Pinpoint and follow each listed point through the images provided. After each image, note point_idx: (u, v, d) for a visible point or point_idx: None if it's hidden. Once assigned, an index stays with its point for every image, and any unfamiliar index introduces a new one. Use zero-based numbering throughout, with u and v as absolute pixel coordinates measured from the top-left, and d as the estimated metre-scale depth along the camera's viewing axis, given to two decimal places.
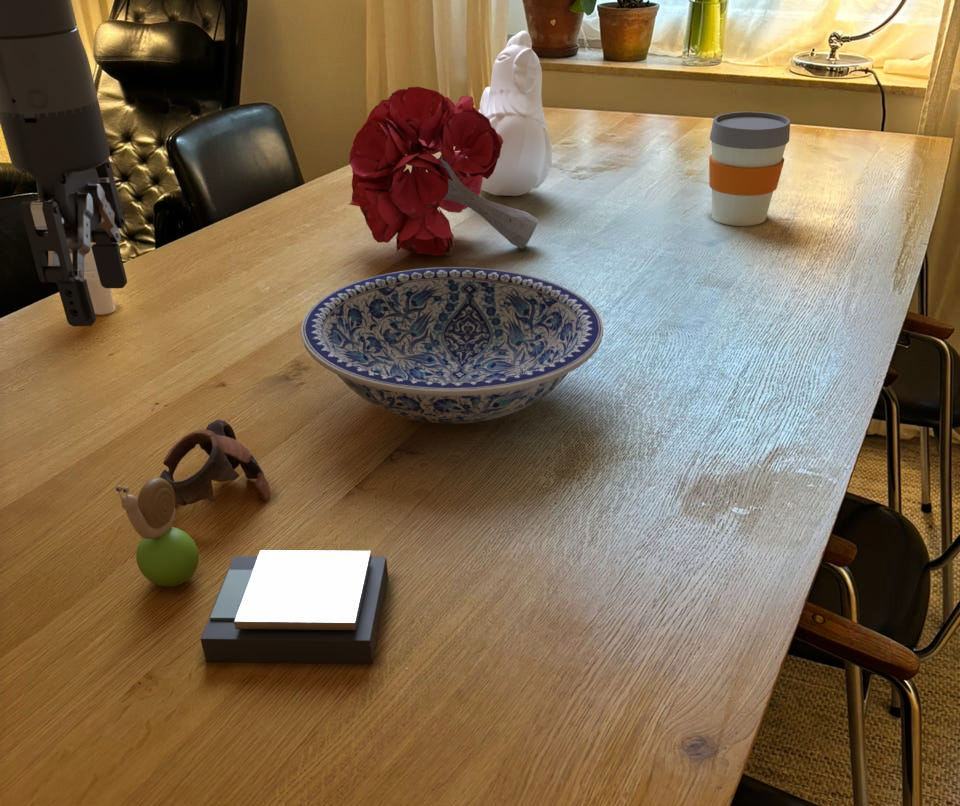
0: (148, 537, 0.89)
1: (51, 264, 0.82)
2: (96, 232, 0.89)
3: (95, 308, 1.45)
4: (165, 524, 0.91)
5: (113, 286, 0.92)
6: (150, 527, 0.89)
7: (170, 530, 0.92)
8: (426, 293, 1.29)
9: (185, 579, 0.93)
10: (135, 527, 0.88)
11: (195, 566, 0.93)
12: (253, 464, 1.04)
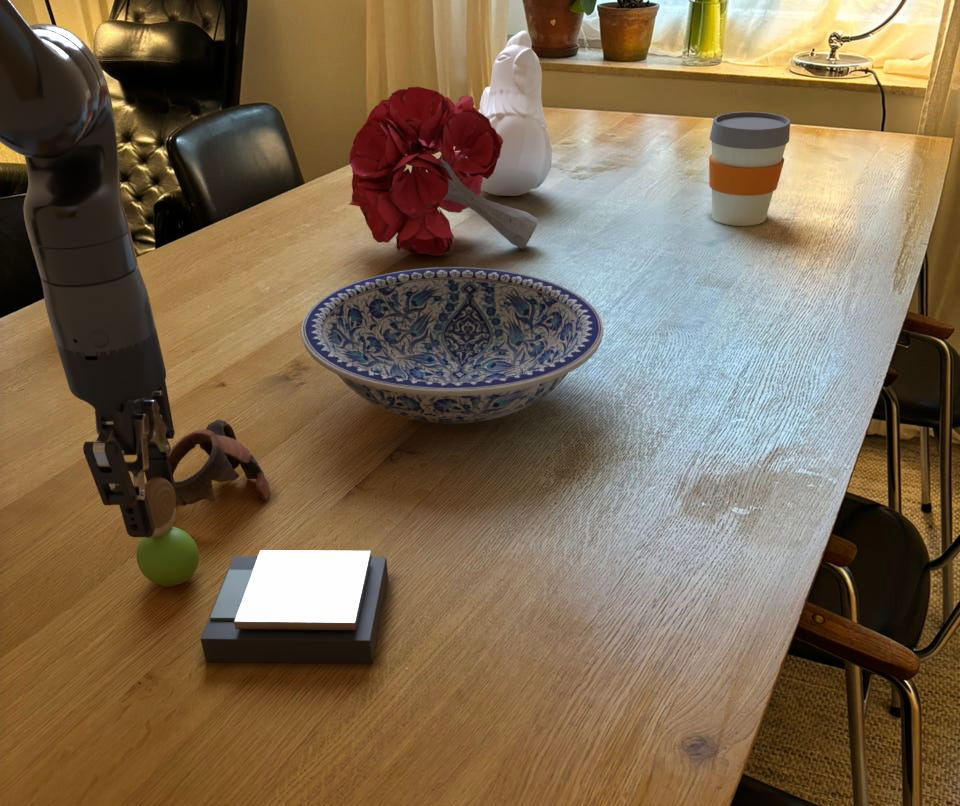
0: None
1: (113, 485, 0.83)
2: None
3: None
4: (166, 523, 0.91)
5: None
6: None
7: (171, 529, 0.92)
8: (426, 293, 1.29)
9: (185, 579, 0.93)
10: None
11: (195, 566, 0.93)
12: (253, 464, 1.04)
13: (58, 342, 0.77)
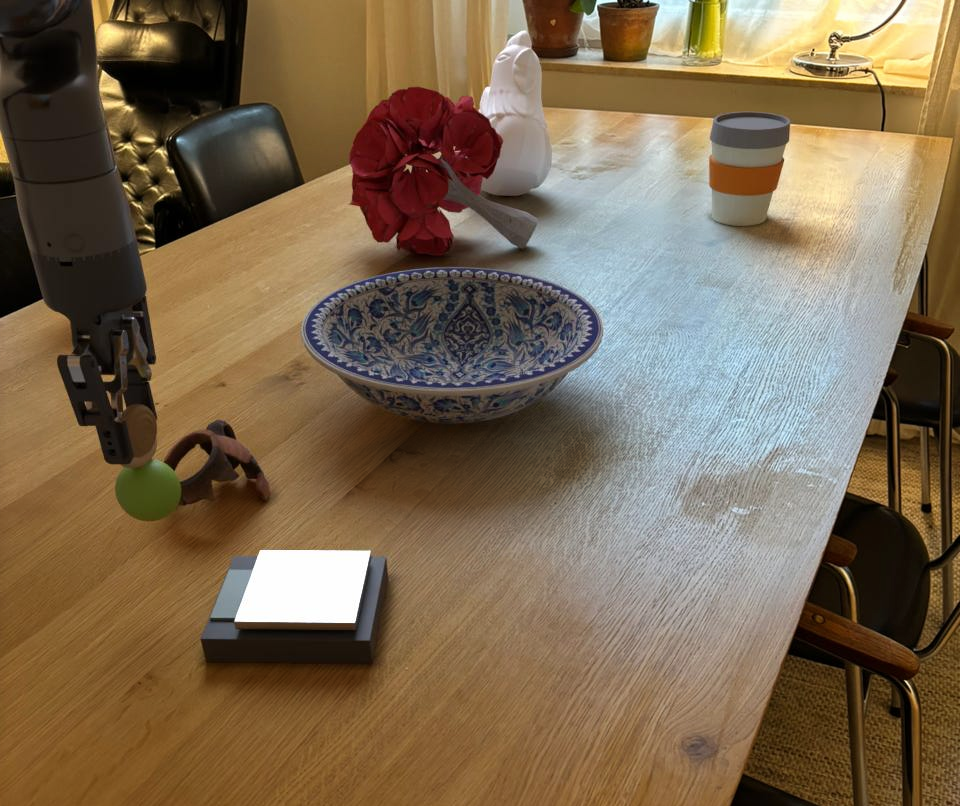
0: (127, 465, 0.85)
1: (90, 406, 0.79)
2: (126, 370, 0.85)
3: None
4: (146, 454, 0.86)
5: None
6: None
7: (151, 461, 0.87)
8: (426, 293, 1.29)
9: (166, 513, 0.88)
10: None
11: (177, 500, 0.89)
12: (253, 464, 1.04)
13: (31, 247, 0.73)
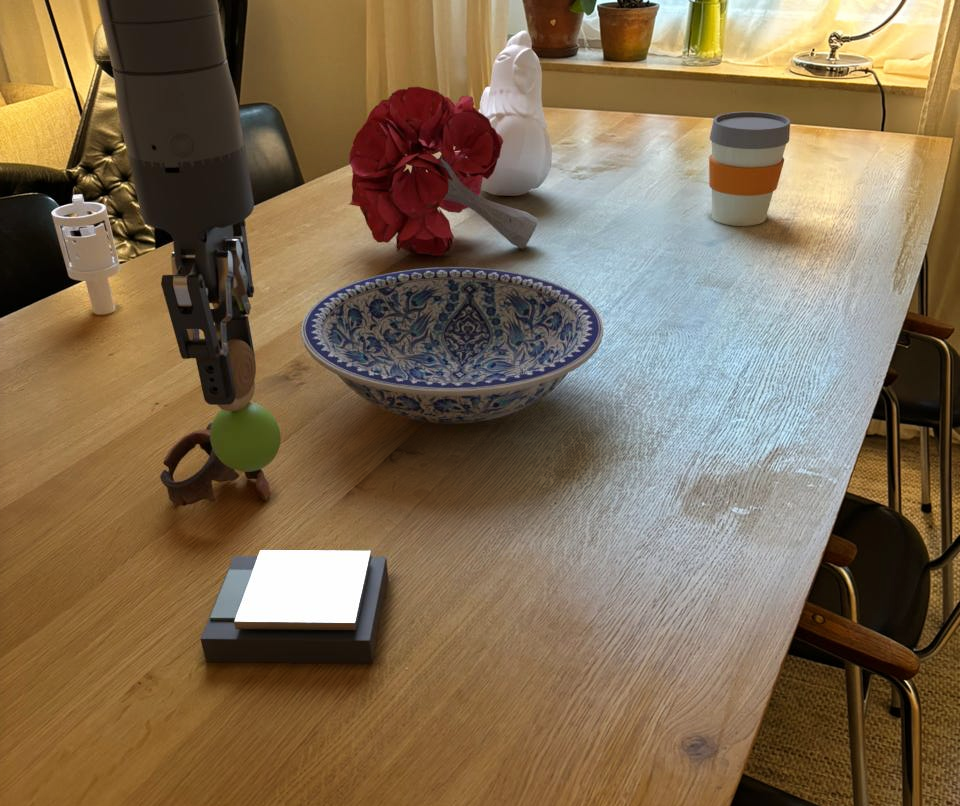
0: (227, 407, 0.77)
1: (191, 337, 0.71)
2: None
3: (95, 308, 1.45)
4: (245, 395, 0.78)
5: None
6: None
7: (250, 404, 0.79)
8: (426, 293, 1.29)
9: (266, 462, 0.80)
10: None
11: (277, 447, 0.81)
12: None
13: (132, 153, 0.65)
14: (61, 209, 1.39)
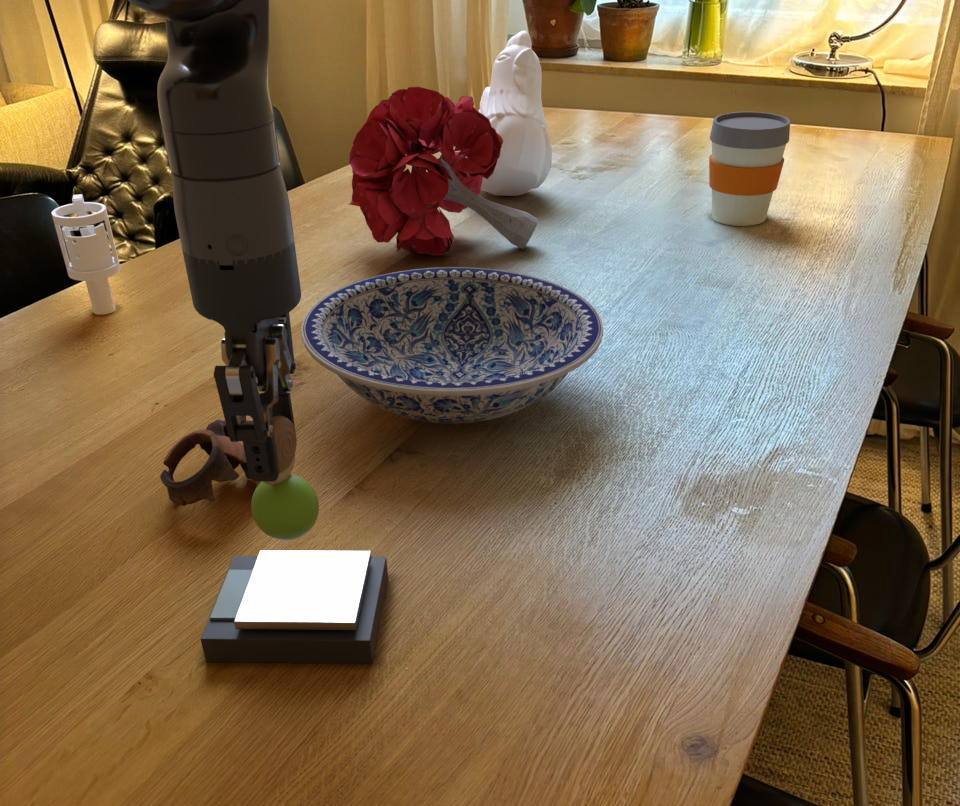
0: (269, 482, 0.79)
1: (239, 419, 0.74)
2: None
3: (95, 308, 1.45)
4: (286, 468, 0.81)
5: None
6: None
7: (290, 476, 0.82)
8: (426, 293, 1.29)
9: (305, 532, 0.83)
10: None
11: (316, 517, 0.83)
12: None
13: (188, 250, 0.68)
14: (61, 209, 1.39)
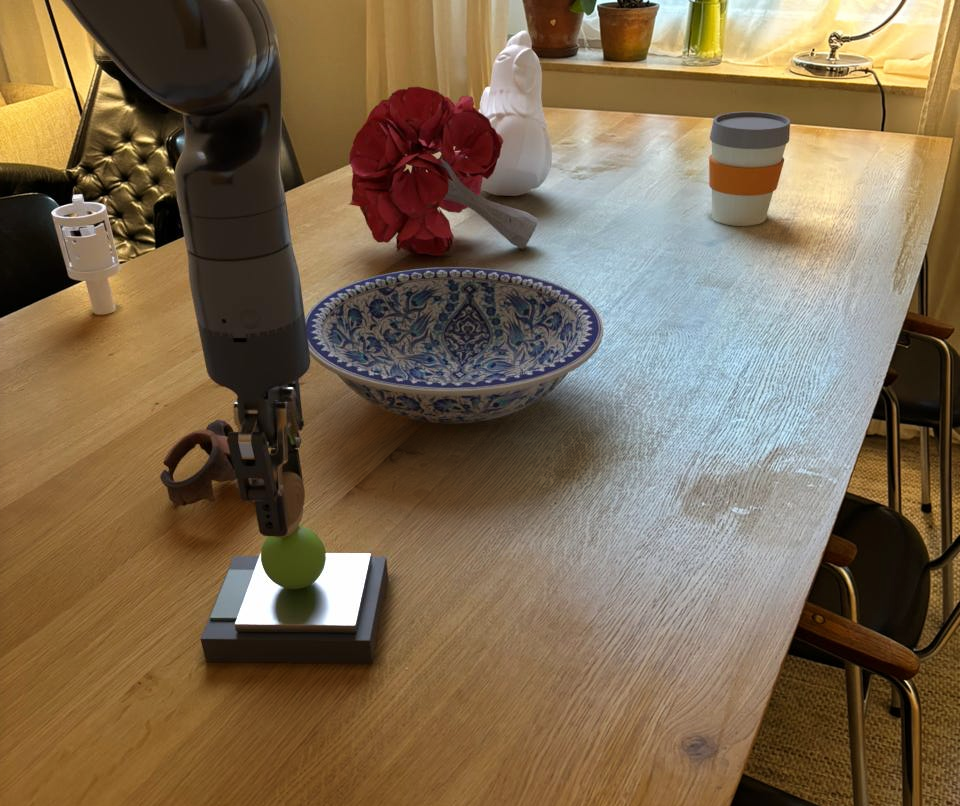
0: None
1: (250, 479, 0.77)
2: None
3: (95, 308, 1.45)
4: (295, 521, 0.84)
5: None
6: None
7: (298, 528, 0.85)
8: (426, 293, 1.29)
9: (312, 581, 0.86)
10: None
11: (323, 567, 0.86)
12: None
13: (202, 323, 0.71)
14: (61, 209, 1.39)
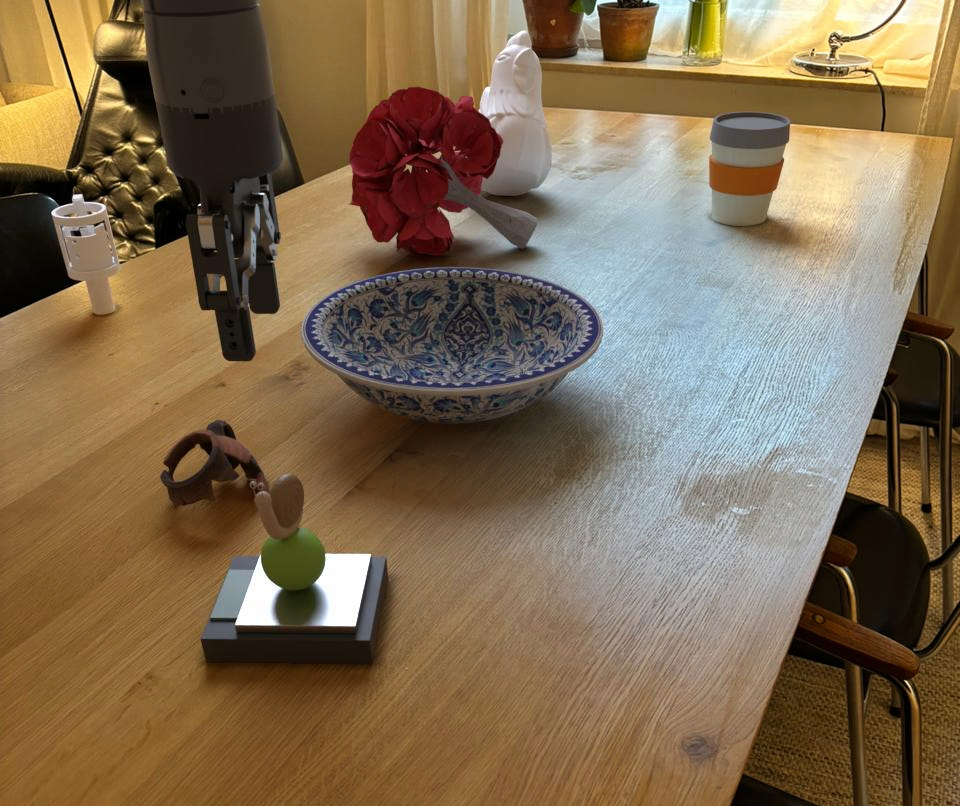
0: (278, 537, 0.83)
1: (211, 288, 0.68)
2: None
3: (95, 308, 1.45)
4: (294, 523, 0.84)
5: (264, 311, 0.78)
6: (281, 527, 0.82)
7: (298, 530, 0.85)
8: (426, 293, 1.29)
9: (312, 582, 0.86)
10: (266, 526, 0.81)
11: (323, 568, 0.86)
12: (253, 464, 1.04)
13: (160, 98, 0.63)
14: (61, 209, 1.39)
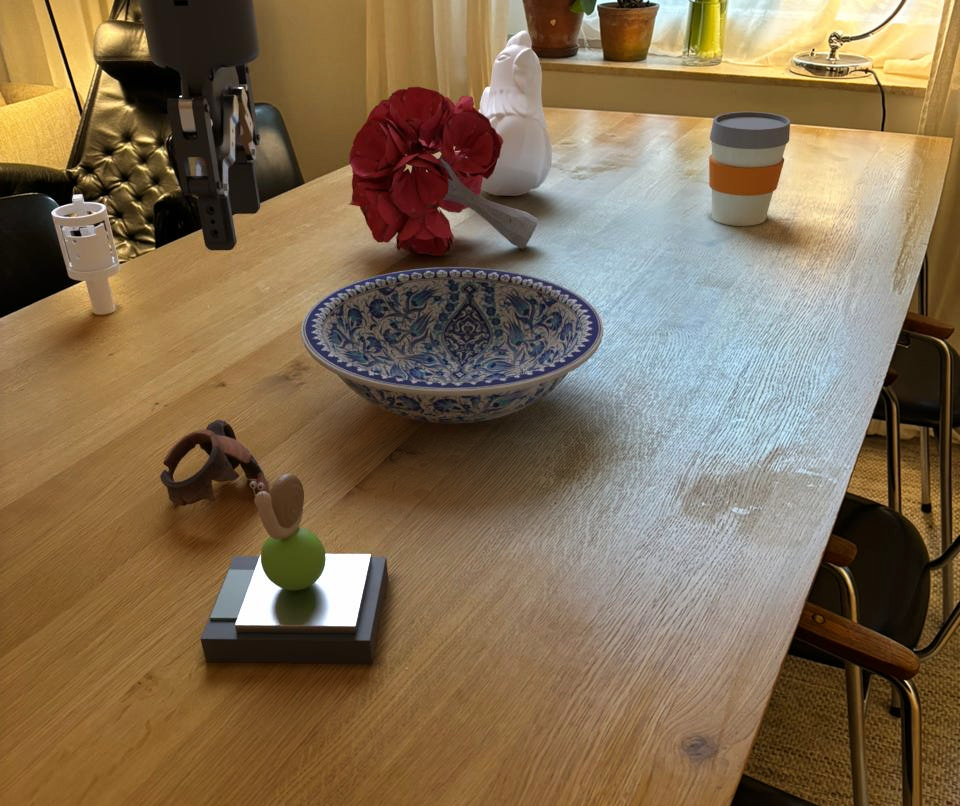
0: (278, 537, 0.83)
1: (192, 176, 0.72)
2: None
3: (95, 308, 1.45)
4: (294, 523, 0.84)
5: (245, 211, 0.82)
6: (281, 527, 0.82)
7: (298, 530, 0.85)
8: (426, 293, 1.29)
9: (312, 582, 0.86)
10: (266, 526, 0.81)
11: (323, 568, 0.86)
12: (253, 464, 1.04)
13: None
14: (61, 209, 1.39)
